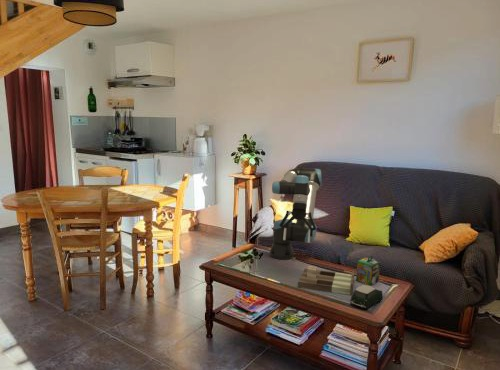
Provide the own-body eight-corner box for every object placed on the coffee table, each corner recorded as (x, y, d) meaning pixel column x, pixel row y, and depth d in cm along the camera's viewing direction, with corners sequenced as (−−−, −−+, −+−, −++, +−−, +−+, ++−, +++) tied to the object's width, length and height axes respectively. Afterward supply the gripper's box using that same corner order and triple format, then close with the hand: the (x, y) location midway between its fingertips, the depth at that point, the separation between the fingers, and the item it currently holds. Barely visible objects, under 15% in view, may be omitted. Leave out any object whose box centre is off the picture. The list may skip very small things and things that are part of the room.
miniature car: (383, 299, 186) (385, 284, 184) (365, 311, 173) (366, 295, 172) (366, 293, 192) (368, 278, 191) (347, 305, 179) (349, 288, 178)
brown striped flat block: (304, 273, 216) (305, 263, 215) (353, 280, 208) (354, 269, 207) (298, 287, 197) (298, 276, 196) (352, 295, 189) (352, 283, 188)
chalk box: (363, 276, 214) (365, 251, 212) (379, 281, 208) (381, 255, 205) (355, 280, 208) (357, 254, 205) (370, 286, 201) (373, 259, 199)
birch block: (308, 273, 208) (308, 266, 207) (316, 275, 206) (317, 267, 206) (307, 277, 203) (307, 268, 203) (315, 278, 202) (316, 270, 201)
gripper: (276, 200, 213) (272, 238, 210) (321, 203, 206) (318, 243, 202) (279, 202, 220) (275, 239, 217) (323, 205, 213) (320, 244, 209)
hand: (296, 241), depth 209 cm, fingers open, 13 cm apart
